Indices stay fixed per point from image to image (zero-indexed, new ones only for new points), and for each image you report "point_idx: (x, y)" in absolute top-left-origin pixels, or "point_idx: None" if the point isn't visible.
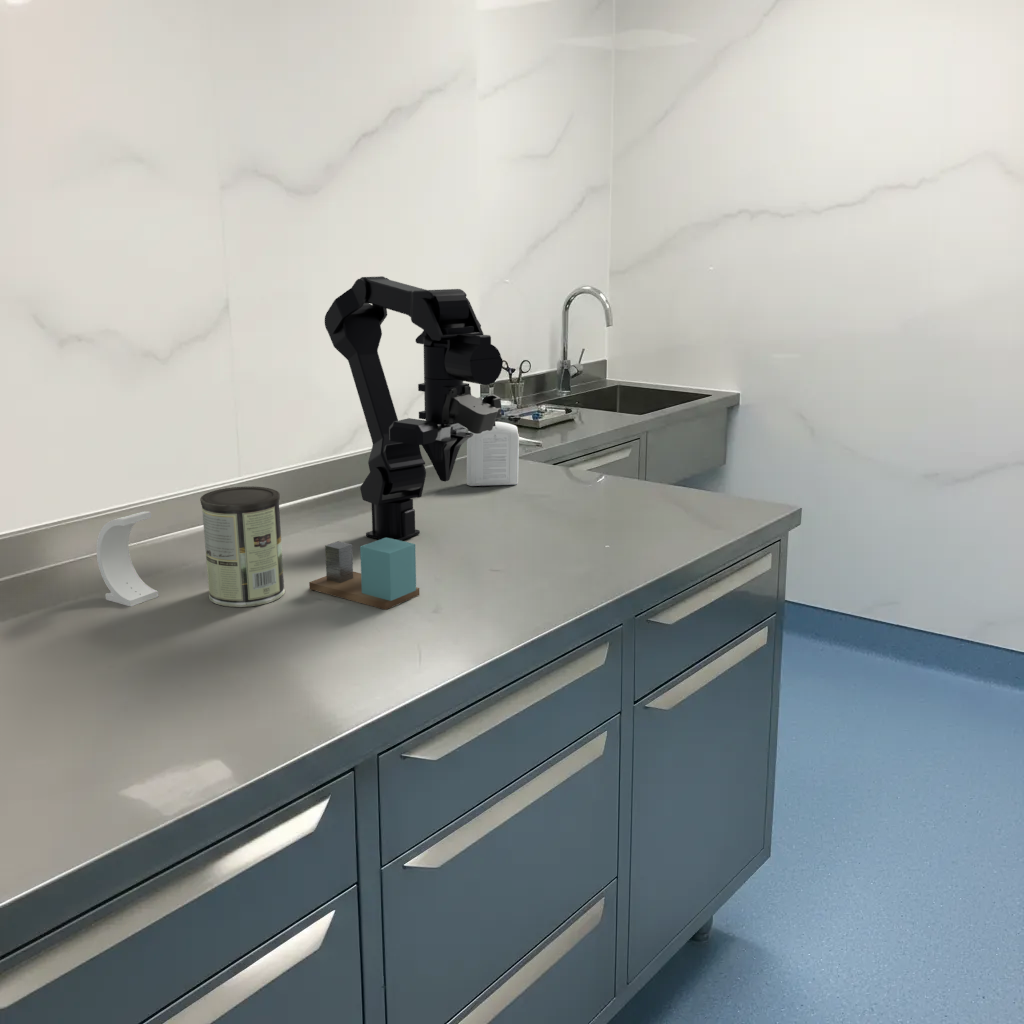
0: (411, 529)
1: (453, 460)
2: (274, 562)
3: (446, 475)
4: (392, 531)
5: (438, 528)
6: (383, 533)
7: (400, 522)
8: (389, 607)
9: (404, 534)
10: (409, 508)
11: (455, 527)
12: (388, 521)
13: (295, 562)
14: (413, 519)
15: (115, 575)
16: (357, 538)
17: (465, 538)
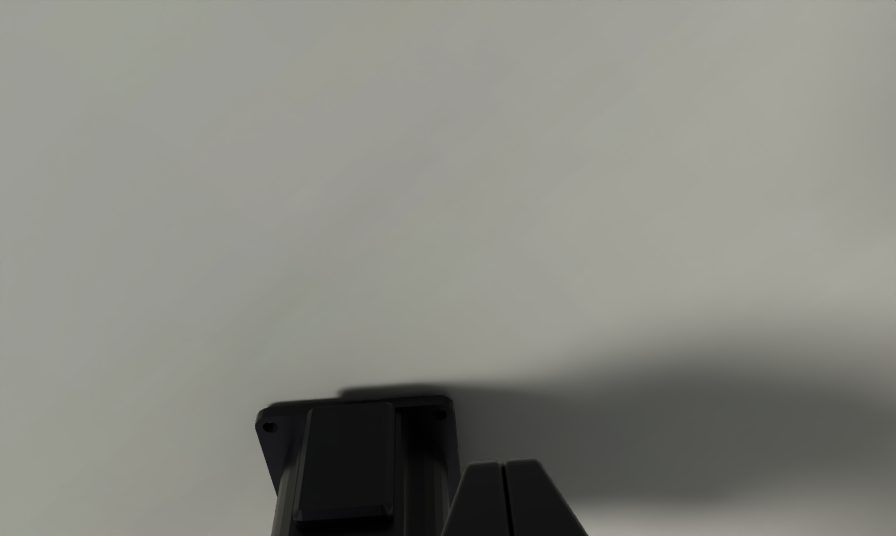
0: (340, 424)
1: None
2: None
3: (558, 515)
4: (425, 457)
5: (120, 409)
6: (446, 472)
7: (402, 474)
8: None
9: (393, 412)
10: (322, 532)
11: (33, 371)
12: (437, 510)
13: (888, 471)
14: (315, 467)
15: None
16: None
17: (108, 223)
